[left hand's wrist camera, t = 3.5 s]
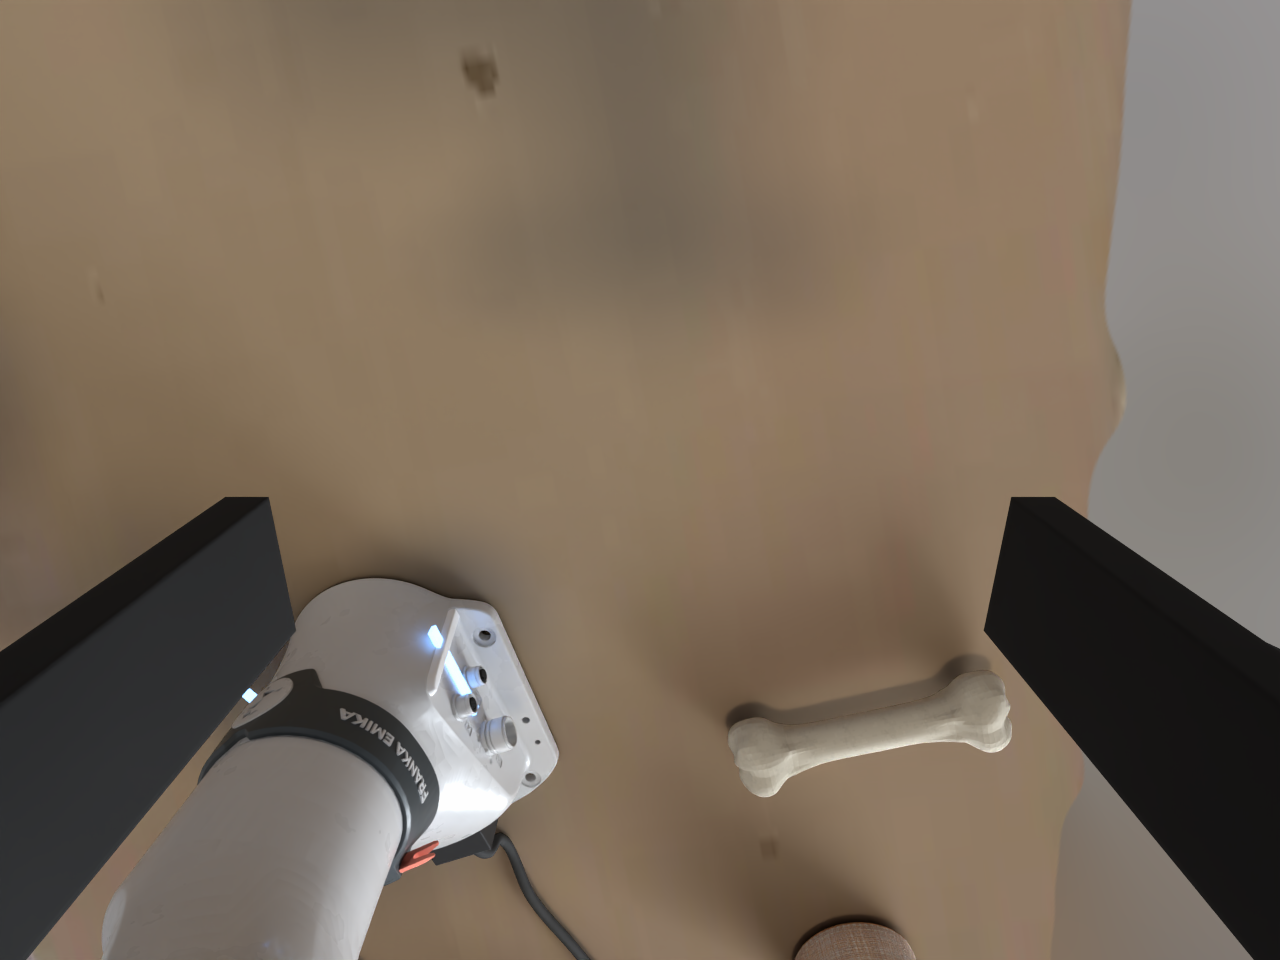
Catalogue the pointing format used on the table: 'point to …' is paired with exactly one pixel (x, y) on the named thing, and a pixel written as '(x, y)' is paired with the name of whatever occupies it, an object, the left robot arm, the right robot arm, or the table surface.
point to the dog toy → (873, 731)
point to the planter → (856, 944)
